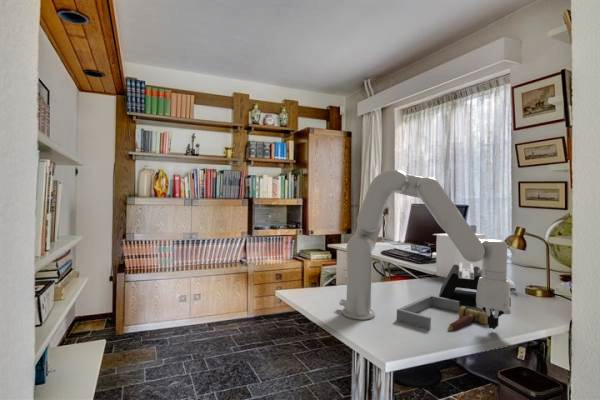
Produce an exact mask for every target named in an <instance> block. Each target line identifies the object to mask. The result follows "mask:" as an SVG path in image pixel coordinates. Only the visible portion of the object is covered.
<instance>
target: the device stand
mask: <svg viewBox="0 0 600 400" xmlns="http://www.w3.org/2000/svg"><path fill="white" fill-rule="evenodd" d="M478 270H480V268H479V267H474V268H473V264H470V269H463V264H462V263H459V266H458V265H453V267H452V269H451V270H450V272H449V274H448V276H447V278H445V280H444V282H443V283H442V285H441V288H440V290H439V291H440V292H439V295H438V297H442V298H446V299H451V300H456V301H459V306H464V307H473V308H478V307H477V306H476V305H477V304H476V293H477V286H478V281H479V277H482V276H481V274H479V273H478ZM457 288H458V289H457ZM461 289H466V290H461ZM468 289H469V290H468ZM470 290H471V291H470ZM473 290H475V291H473ZM493 310H494V309H492V311H493ZM494 311H495V310H494Z"/></svg>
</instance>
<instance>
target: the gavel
mask: <svg viewBox="0 0 600 400" xmlns="http://www.w3.org/2000/svg"><path fill="white" fill-rule="evenodd" d="M458 317H459V319H457V320H455V321H453V322H451V323H449V326H448V327H447V331H456V330H459V329H461V328H462V327H463V326H466V325H467V324H469V323H471V322H473V321H474V322H476V323H480V324H481V325H485V326H486V325H488V316H487V315H486V313H485V312H484V311H479V310H475V309H471V308H469V307H468V306H464V305H460V306H459V311H458Z"/></svg>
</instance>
